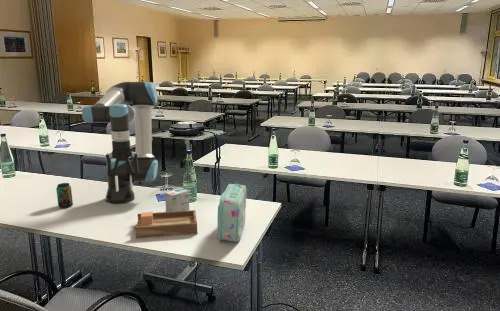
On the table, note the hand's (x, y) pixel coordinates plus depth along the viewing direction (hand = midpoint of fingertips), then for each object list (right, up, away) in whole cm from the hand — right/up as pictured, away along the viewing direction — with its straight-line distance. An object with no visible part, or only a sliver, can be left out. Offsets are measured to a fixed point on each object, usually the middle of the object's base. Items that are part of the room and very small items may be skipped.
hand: (124, 190), depth 180 cm
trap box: (+18, -18, +5) cm, 26 cm away
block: (+9, -16, +6) cm, 19 cm away
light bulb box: (+19, -13, +26) cm, 35 cm away
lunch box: (+49, -20, +2) cm, 52 cm away
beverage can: (-41, -11, +31) cm, 52 cm away
